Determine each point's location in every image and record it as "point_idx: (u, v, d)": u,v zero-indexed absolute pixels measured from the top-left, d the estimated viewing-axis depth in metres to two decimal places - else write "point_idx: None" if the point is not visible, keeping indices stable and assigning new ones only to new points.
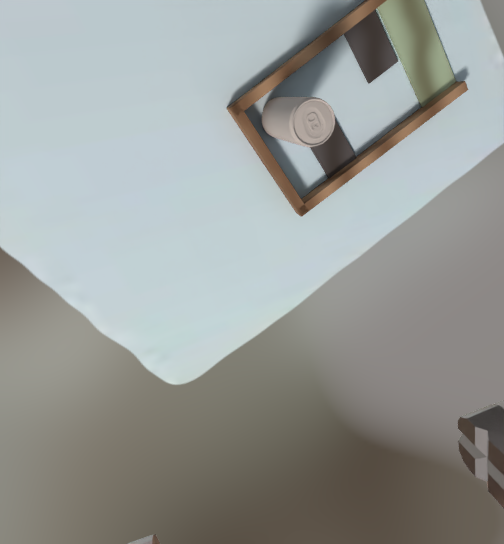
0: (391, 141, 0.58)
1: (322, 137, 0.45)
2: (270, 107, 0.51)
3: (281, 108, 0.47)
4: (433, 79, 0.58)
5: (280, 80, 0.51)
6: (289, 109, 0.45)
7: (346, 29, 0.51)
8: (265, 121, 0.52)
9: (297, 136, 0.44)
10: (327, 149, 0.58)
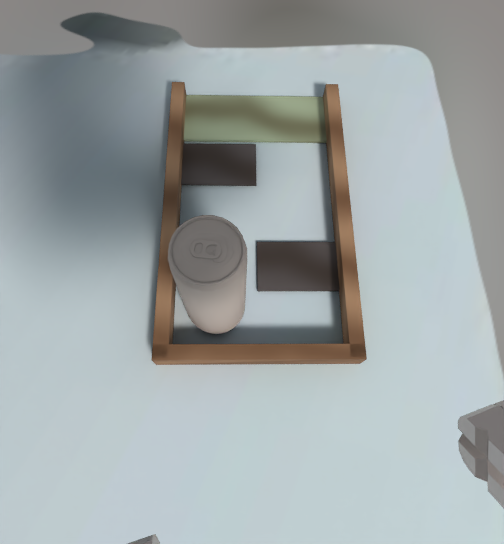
0: (340, 188, 0.39)
1: (236, 248, 0.26)
2: (185, 307, 0.34)
3: None
4: (303, 117, 0.44)
5: (170, 277, 0.36)
6: (172, 274, 0.27)
7: (176, 176, 0.39)
8: (200, 325, 0.34)
9: (207, 282, 0.25)
10: (298, 271, 0.38)
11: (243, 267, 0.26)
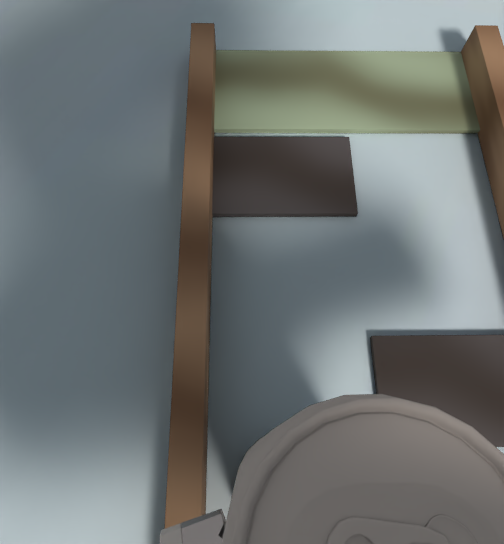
0: None
1: None
2: None
3: None
4: (430, 88, 0.24)
5: (197, 435, 0.16)
6: None
7: (205, 202, 0.19)
8: None
9: None
10: (465, 403, 0.18)
11: None
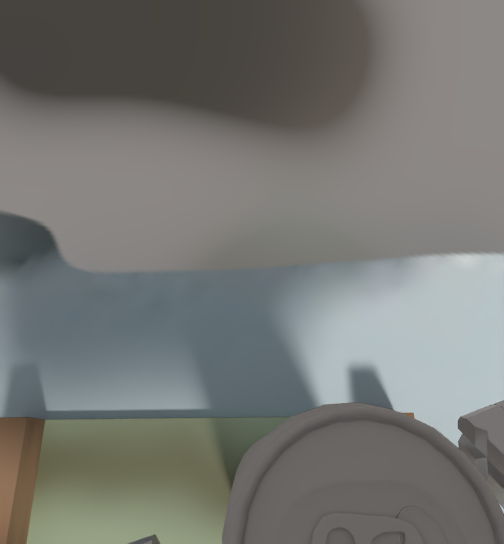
0: None
1: (479, 541, 0.07)
2: None
3: None
4: None
5: None
6: None
7: None
8: None
9: None
10: None
11: None
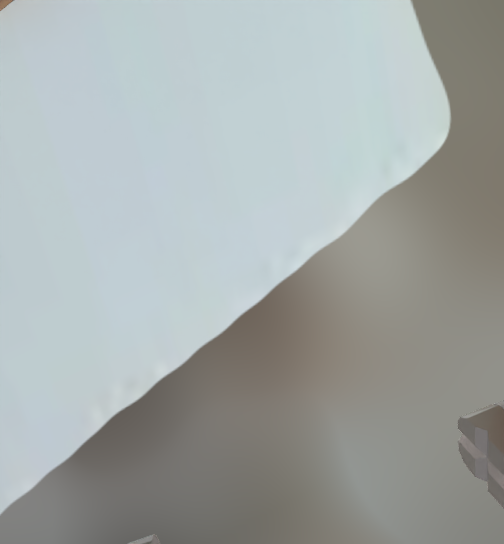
0: None
1: None
2: None
3: None
4: None
5: None
6: None
7: None
8: None
9: None
10: None
11: None
